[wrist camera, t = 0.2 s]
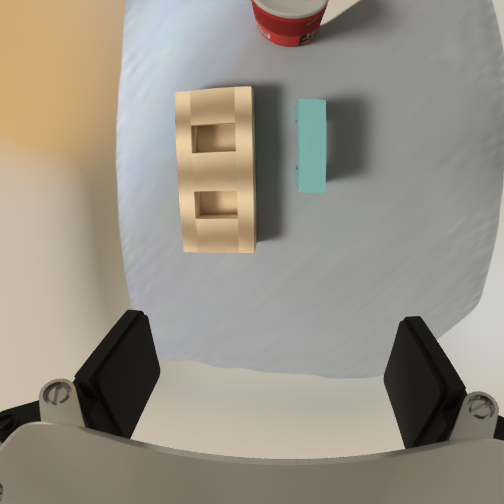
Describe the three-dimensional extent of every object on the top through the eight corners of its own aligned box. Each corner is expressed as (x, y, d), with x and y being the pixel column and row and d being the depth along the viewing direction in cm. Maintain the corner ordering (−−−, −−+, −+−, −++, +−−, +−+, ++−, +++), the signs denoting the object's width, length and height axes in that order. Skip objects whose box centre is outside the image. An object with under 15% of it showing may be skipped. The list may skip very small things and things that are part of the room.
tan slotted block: (184, 96, 34) (174, 92, 31) (254, 91, 34) (251, 86, 30) (192, 241, 42) (184, 251, 38) (256, 242, 41) (254, 252, 37)
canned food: (310, 55, 31) (322, 25, 21) (249, 40, 31) (238, 7, 21) (323, 10, 28) (336, -29, 18) (264, -4, 28) (258, -45, 18)
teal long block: (295, 106, 34) (298, 98, 27) (317, 107, 34) (325, 99, 27) (295, 183, 37) (299, 192, 31) (317, 183, 37) (325, 193, 31)
